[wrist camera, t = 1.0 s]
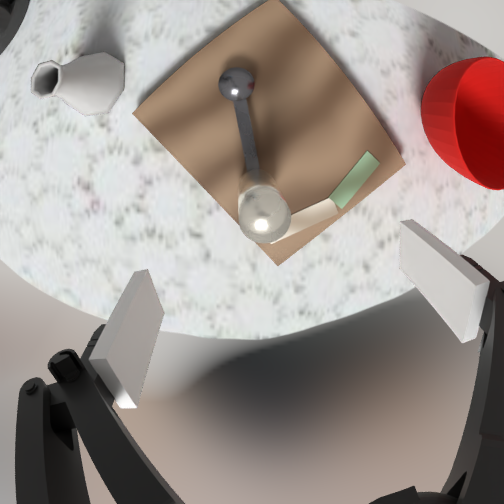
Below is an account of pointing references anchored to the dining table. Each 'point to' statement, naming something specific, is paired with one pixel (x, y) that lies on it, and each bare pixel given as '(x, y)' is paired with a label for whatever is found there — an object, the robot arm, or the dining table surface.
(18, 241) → the dining table surface
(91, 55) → the flask
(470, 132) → the ceramic cup
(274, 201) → the metal crank handle
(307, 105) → the board
